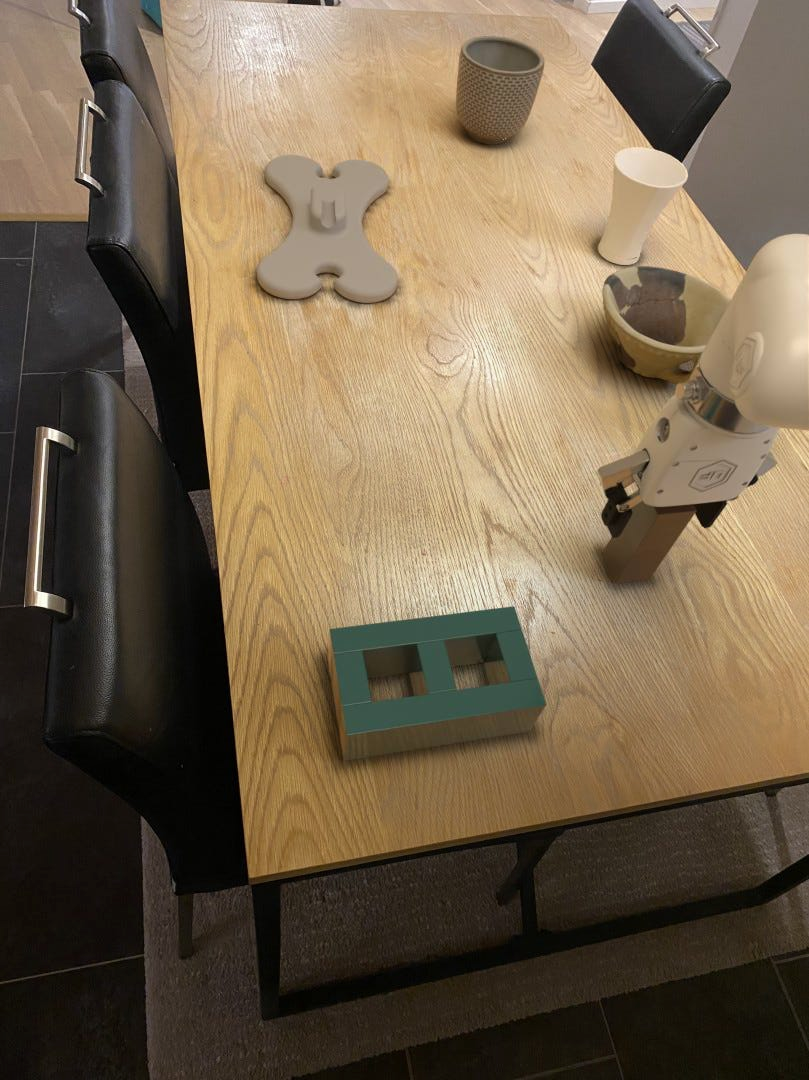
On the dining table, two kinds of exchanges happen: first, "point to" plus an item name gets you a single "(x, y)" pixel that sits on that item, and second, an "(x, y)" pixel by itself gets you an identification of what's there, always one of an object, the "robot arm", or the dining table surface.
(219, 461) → the dining table surface
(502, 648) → the stand
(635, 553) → the peg
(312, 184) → the holder
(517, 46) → the planter
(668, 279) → the bowl
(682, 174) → the cup
